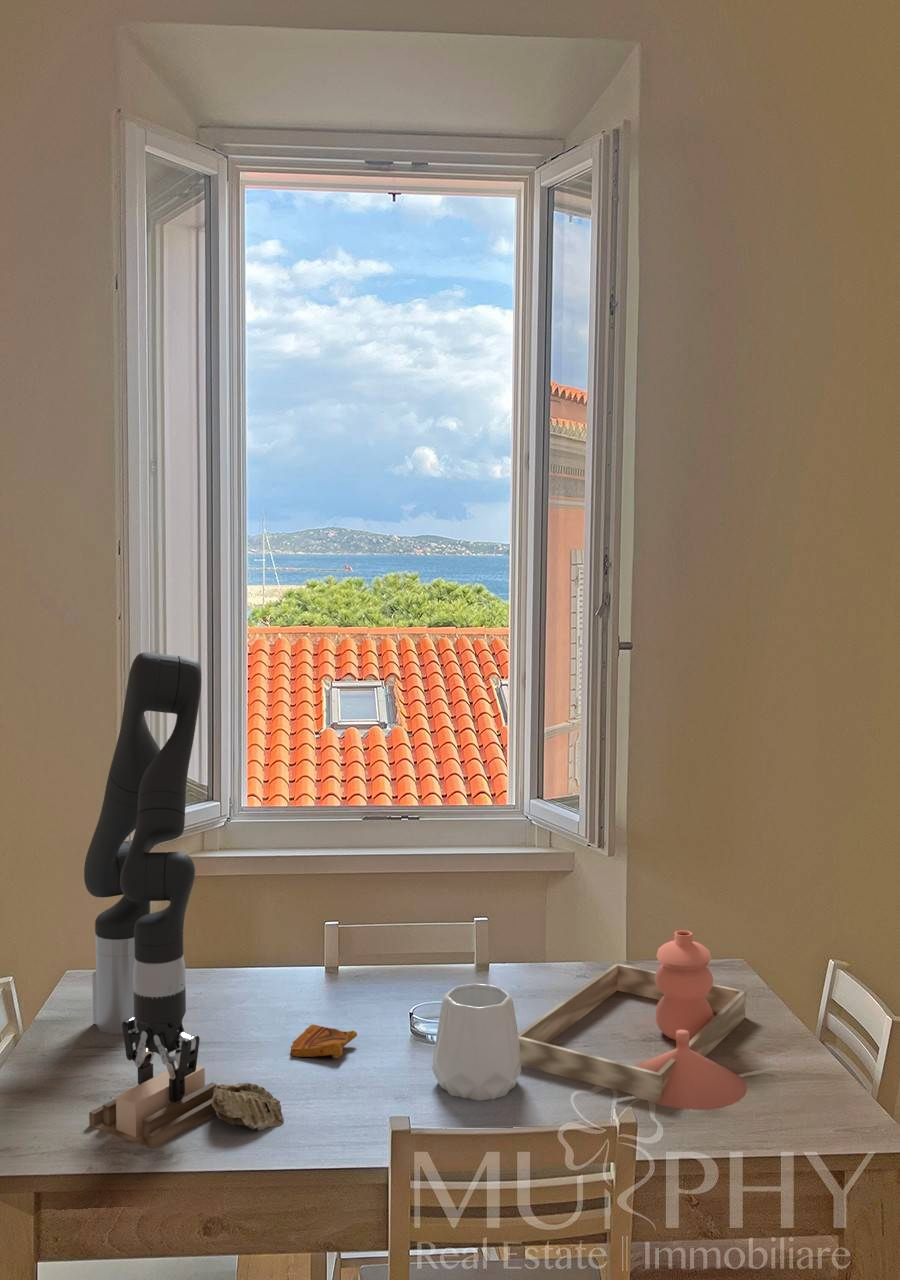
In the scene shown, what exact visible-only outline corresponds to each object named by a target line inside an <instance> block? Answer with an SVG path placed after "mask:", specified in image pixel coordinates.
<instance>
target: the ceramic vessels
mask: <svg viewBox="0 0 900 1280" xmlns="http://www.w3.org/2000/svg"><path fill="white" fill-rule="evenodd" d="M693 935H694V934H693V932H692V931H689V930H683V929H682V930H676V931H674V940H669V941H668V942H666V943H663V944H662V945H661V946H660V947H658V949H657V953H656V958H657V960H658V962H659V963H660V965H659V966H658V968H657V970H656V971H655V972H656V975H655V981H656V985H657V987H658V989H659V990H660V992H661V993H663V994H664V996H663V997H662V998H661V1000H658V1003H657V1004H656V1008H655V1022H656V1024H657V1027H658V1028H659V1030H660V1031H661V1032H662V1034H663V1035H665V1036H666V1037H667V1038H669V1039H671V1040H674V1041H675V1043H676V1044H675V1045H676V1047H675V1048H674V1049H672V1050H669V1051H667V1052H666V1051H665V1053H662V1054H660V1055H657V1056H655V1057H652V1058H649V1059H646V1060H644V1061H642V1062H640V1063H638V1064H635V1067H639V1068H642V1069H646V1070H650V1071H654V1072H658V1071H659V1070H660V1069H661V1068H662V1067H663V1066H664V1065H665V1064H666V1063H667V1062H668V1061H669V1060H671V1059H672V1058H673V1059H675V1060H676V1061H675V1064H674V1067H673V1069H672V1072H671V1074H670V1077H669V1080H668V1082H667V1085H666V1087H665V1090H664V1092H663V1095H662V1098H661V1100H660V1103H658V1102H652V1103H653V1104H655V1105H660V1106H664V1107H666V1108H671V1109H673V1108H674V1107H676V1108H674V1109H679V1108H682V1109H681V1110H687V1111H689V1109H692V1110H691V1111H693V1110H696V1111H704V1110H713V1109H720V1108H721V1109H723V1108H726V1107H729V1106H731V1105H733V1104H736V1103H739V1102H740V1101H741V1100H742V1099H743V1098H744V1097H745V1096H746V1093H747V1089H748V1087H747V1084H746V1082H745V1080H743V1078H742V1077H741V1076H740V1075H739V1074H737V1073H734V1072H733V1071H732V1070H730V1069H728V1068H727V1067H725V1066H723V1065H720V1064H719V1063H717V1062H715V1061H713V1060H711V1059H710V1058H707V1057H706V1056H705V1057H703V1056H702V1055H700V1054H698V1053H696V1052H694V1051H692V1050H690V1049H689V1042H690V1040H691V1039H692V1038H693V1037H694V1036H695V1035H696V1034H697V1033H698V1032H699V1031H700V1030H701V1029H702V1028H703V1027H704V1026H706V1025H707V1024H708V1023H709V1022H710V1021H711V1020H712V1019H713V1018H714V1012H713V1011H712V1009H711V1006H710V1004H709V1003H708V1001H707V999H705V998H704V996H706V995H707V994H708V993H709V991H710V990H711V988H712V985H713V984H714V978H713V974H712V972H711V971H710V969H709V968H708V965H709V963H710V961H711V960H712V956H711V953H710V950H709V949H708V948H707V947H705V946H704V945H703V944H701V943H699V942H697V941H693Z"/></svg>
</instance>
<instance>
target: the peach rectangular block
mask: <svg viewBox="0 0 900 1280" xmlns="http://www.w3.org/2000/svg"><path fill="white" fill-rule="evenodd" d="M175 1068H176V1069H177V1068H178V1065H175ZM205 1071H206V1069H205V1067H204V1066H201V1065H198V1064H197V1065H196V1071H195V1072H193V1073H191V1074H190V1075H188V1076H186V1077H185V1094H184V1096H183V1098H184V1097H185V1096H187V1095H189V1094H191V1093H193V1092H195V1091H196V1090H198V1089H200V1088H202V1087H204V1086H206V1083H205V1082H206V1079H205V1078H206V1077H205V1076H206V1075H205V1074H206V1073H205ZM169 1078H170V1076H169V1072H168V1069H167V1070H165V1071H164V1072H161V1073H159V1074H158V1075H156V1076H153V1078H152V1079H150V1080H148V1081H146V1082H144V1083H142V1084H140V1085H138V1084H137V1085H136V1086H134V1087H132V1088H130V1089H128V1090H126V1091H124V1092H123V1093H120V1094H119V1095H116V1096H115V1098H116V1129H117V1130H118V1131H121V1132H124V1133H126V1134H129V1135H131V1136H134V1137H137V1136H139V1135H141V1134H143V1119H145V1118H147V1117H149V1116H151V1115H153V1114H154V1113H156V1112H158V1111H160V1110H162V1109H164V1108H165V1107H167V1106H169V1105H171V1104H173V1102H171V1101H170V1100H169Z"/></svg>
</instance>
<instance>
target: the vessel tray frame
mask: <svg viewBox="0 0 900 1280" xmlns="http://www.w3.org/2000/svg"><path fill="white" fill-rule="evenodd" d="M655 975H656V971H655V970H649V969H644V968H639V967H635V966H631V965H630V966H629V965H625V964H620V963H614V964H613V965H612V966H610V967H609V968H607V969H606V970H604V971H602V973H600V974H598V975H597V976H596V977H595V978H593V979H592V980H590V981H589V982H588V983H586V984H585V985H583V986H582V987H581V988H579V989H578V990H577V991H575V992H574V993H572V994H571V995H569V996H568V997H566V998H565V999H564V1000H563V1001H562V1002H560V1003H559V1004H557V1005H556V1006H553V1008H551V1009H550V1010H548V1011H547V1012H546V1013H544V1014H543V1015H542V1016H540V1017H539V1018H538V1019H536V1020H535V1021H534V1022H532V1023H531V1024H529V1025H528V1026H526V1027H525V1028H524V1029H522V1030H521V1031H518V1037H519V1045H520V1054H521V1067H525V1068H528V1069H533V1070H537V1071H541V1072H545V1073H547V1074H548V1073H549V1074H553V1075H557V1076H561V1077H565V1078H568V1079H572V1080H576V1081H579V1082H584V1083H588V1084H591V1085H595V1086H600V1087H603V1088H608V1089H611V1090H612V1089H613V1090H615V1091H620V1092H622V1093H623V1092H624V1093H626V1094H627V1093H628V1094H630V1095H631V1096H634V1097H633V1098H635V1097H636V1098H635V1099H639V1098H640V1100H643V1101H646V1100H649V1101H648V1102H650V1101H652V1102H651V1103H653V1102H658V1103H660V1100H661V1098H662V1095H663V1092H664V1090H665V1087H666V1085H667V1082H668V1080H669V1077H670V1074H671V1072H672V1069H673V1067H674V1064H675V1061H676V1060H675V1059H673V1058H672V1059H671V1060H669V1061H668V1062H667V1063H666V1064H665V1065H664V1066H663V1067H662V1068H661V1069H660V1070H659V1071H658V1072H654V1071H650V1070H646V1069H642V1068H639V1067H635V1066H636V1065H635V1066H634V1065H630V1064H627V1063H624V1062H623V1063H622V1062H619V1061H615V1060H611V1059H608V1058H604V1057H600V1056H596V1055H593V1054H589V1053H584V1052H581V1051H577V1050H573V1049H569V1048H565V1047H563V1046H560V1045H559V1046H558V1045H554V1044H550V1043H549V1042H551V1041H552V1040H554V1039H555V1038H557V1037H559V1035H560V1034H562V1033H563V1032H565V1031H566V1030H567V1029H569V1028H570V1027H571V1026H573V1025H574V1024H575V1023H578V1021H579V1020H581V1019H582V1018H584V1017H585V1016H586V1015H587V1014H589V1013H590V1012H591V1011H592V1010H594V1009H595V1008H597V1007H598V1006H599V1005H601V1003H603V1002H605V1000H607V999H608V998H610V997H611V996H612V995H613V994H615V993H616V992H617V991H618V992H623V993H627V994H631V995H636V996H640V997H645V998H649V999H653V1000H657V1001H660V1000H661V998H662V997H663V996H664V994H663V993H661V992H660V990H659V989H658V987H657V985H656V981H655ZM704 998H705V999H707V1001H708V1003H709V1004H710V1006H711V1009H712V1011H713V1014H716V1015H715V1016H713V1019H712V1020H711V1021H710V1022H709V1023H708V1024H707V1025H706V1026H704V1027H703V1028H702V1029H701V1030H700V1031H699V1032H698V1033H697V1034H696V1035H695V1036H694V1037H693V1038H692V1039H691V1040H690V1042H689V1049H690V1050H692V1051H694V1052H696V1053H698V1054H700V1055H702V1056H703V1057H705V1058H706V1057H707V1055H708V1054H709V1053H710V1052H712V1050H713V1049H714V1048H715V1047H716V1046H717V1045H718V1044H719V1043H721V1041H722V1040H724V1039H725V1038H726V1037H727V1036H728V1035H729V1034H730V1033H731V1032H732V1031H733V1030H734V1029H735V1028H736V1027H737V1026H738V1025H739V1024H740V1023H741V1022H742V1021H743V1020H744V1019H745V1018H746V1008H747V1007H746V1003H747V991H746V990H741V989H738V988H732V987H728V986H724V985H723V986H722V985H719V984H715V983H713V985H712V988H711V990H710V991H709V993H708V994H707V995H706V996H704ZM631 1096H630V1097H631ZM644 1099H645V1100H644Z"/></svg>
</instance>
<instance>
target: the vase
mask: <svg viewBox="0 0 900 1280" xmlns="http://www.w3.org/2000/svg"><path fill="white" fill-rule="evenodd" d="M514 1005H515V1004H514V1001H513V998H512V996H511V995H510V994H509V993H508V992H507V991H506V990H505V989H503V988H501V987H500V986H499V987H498V986H495V985H493V984H485V983H467V984H461V985H458V986H454V987H453V988H451V989H450V990H448V991H447V992H446V994H445V995H444V996H443V999H442V1002H441V1007H440V1012H439V1013H440V1014H439V1018H438V1024H437V1025H438V1026H437V1032H436V1037H435V1045H434V1051H433V1058H432V1066H431V1068H432V1072H433V1075H434V1077H435V1079H436V1080H437V1082H438V1083H439V1087H440V1088H441V1089H443V1090H445V1091H447V1093H448V1095H449V1096H451V1097H453V1096H454V1097H460V1098H462V1099H471V1100H474V1101H486V1100H495V1099H497V1098H501V1097H506V1096H507V1095H508V1093H509V1092H510V1091H511V1090H512V1089H514V1088H515V1086H517V1085H516V1084H517V1082H518V1079H519V1078H520V1075H521V1071H522V1066H521V1054H520V1045H519V1037H518V1033H519V1030H518V1024H517V1019H516V1018H517V1016H516V1012H515V1011H516V1010H515V1006H514Z"/></svg>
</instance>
